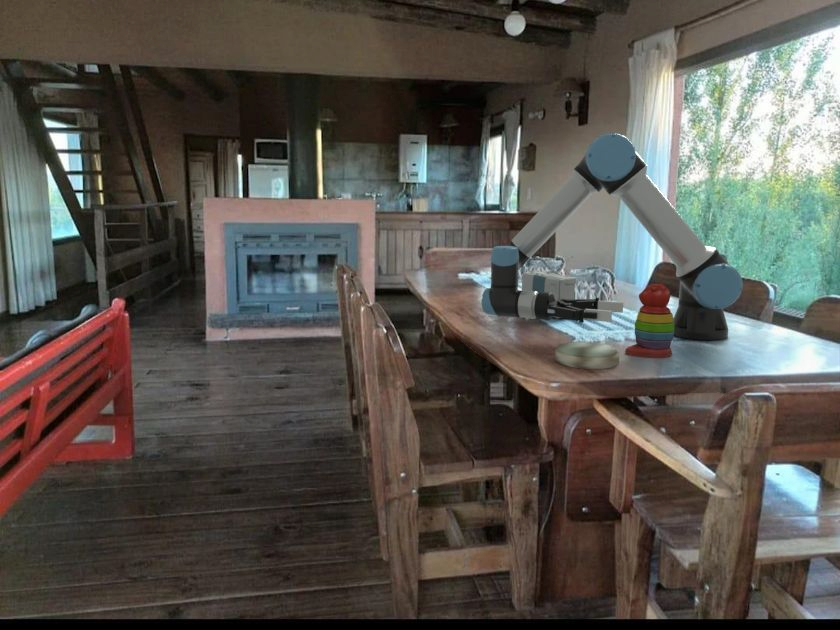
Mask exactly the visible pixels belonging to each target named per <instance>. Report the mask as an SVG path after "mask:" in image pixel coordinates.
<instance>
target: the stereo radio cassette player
mask: <svg viewBox="0 0 840 630" xmlns="http://www.w3.org/2000/svg"><path fill="white" fill-rule="evenodd" d="M573 258H574V256H573V255H572V256H571V257H569V258H568V259H566V260H564V261H562V262H561V263H560V264H557V265H555V267H554V268H552V269H550V270H549V271H548V272H547V271H526V272H523V273H522V277H521V291H537V292H538V293H539V292H550V293H552V294H553V295H554V299H555V301H558V300H560V299H575V292H576V290H575V288H576V286H575V285H576V284H577V283H578V279H577V278H576V277H575V276H574V277H572V276H568V275H564V274H563V275H562V274H558V273H557V274H556V273H552V272H553V271H554V270H556V269H557V268H559V267H560V266H562V265H563V264H565V263H566V262H568V261H570V260H571V259H573ZM552 318H554V319H556V320H559V319H561V318H560V317H555V316H553V317H552Z"/></svg>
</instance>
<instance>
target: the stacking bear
mask: <svg viewBox="0 0 840 630" xmlns="http://www.w3.org/2000/svg"><path fill="white" fill-rule="evenodd" d="M638 299H639V301H640V303H641V304H642V306H641V307H640V308H639V310H638V314H637V316H636V319H635V323H634V336H635V344H632V345H629V346H627V347H626V348H625V350H624V353H625V354H627V355H630V356H634V357H642V358H653V359H663V358H669V357H671V356H672V355H673V350H672V348H671V345H672V341H673V339H674V336H675V335H674V322H673V318H674V315H673V313H672V312H671V308H669V307H667V306H668V304H669V302H670V299H671V292H670V290H669V288H668V287H667V286H666V285H665V284H664V283H662V282H660V283H652V284H649V285H646V287H645V288H644V289H643V290H642V291H641V292H640V293H639V294H638Z"/></svg>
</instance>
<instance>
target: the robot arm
mask: <svg viewBox="0 0 840 630" xmlns="http://www.w3.org/2000/svg"><path fill="white" fill-rule="evenodd" d="M647 170H648V164H647V163H646V162H645V161H644V159H643V158H642V157H641V156H640V155H639V153H638V152H637V151H636V148H635V146H634V144H633V142H632V141H631V140H630V139H629V138H628V137H627V136H625V135H623V134H620V133H617V132H616V133H615V132H609V133H604V134H602V135H599V136H598V137H596V138H594V140H593V141H592V142H591V143H590V145H589V146H588V148H587V150H586V153H585V154H584V156H583V157H582V159H581V160H580V161H579V162H578V163H577V165H576V166H575V167H574V168H573V169H572V175H571V176H570V177H569V179H568V180H567V181H566V182H565V183H564V184H563V185H562V186H561V187H560V188H559V189H558V190H557V191H556V193H554V195H553V196H552V197H550V198H549V200H548V201H547V202H546V203H545V204H544V205H543V206H542V207H541V208H540V209H539V211H538V212H537V213H536V214H535V215H534V216H533V217H532V218H531V219H530V220H529V221H528V222H527V223H526V224H525V226H523V227H522V229H521V230H520V231H519V232H518V233H517V234H516V235H515V236H514V237H513V238H512V239H511V240H510V241H509V242H508V243H507V244H506V245H496V246H493V247H492V248H491V256H490V287H489V288H486V289H484V290H483V293H482V294H481V295H482V297H481V304H480V305H481V308H482V311H483V312H484V313H485V314H486V315H491V316H497V317H506V318H507V317H508V318H509V317H510V318H520V319H522V318H525V321H529V319H532V320H533V319H534V320H535V319H537V320H541V321H550V320H552V319H553V318H554V317H553V316H555V317H560V318H559V319H565V320H571V321H575V322H579V323H580V324H581V323H584V320H585V321H595V322H605V323H606V322H607V323H612V318H613V317H612V316H613V315H612V314H613V313H620V314H622V313H623V312H624V302H623V301H612V300H611V301H610V300H609V301H607V300H600V297H595V298H574V299H560V300H558V301H555V299H554V295H553V294H552V293H550V292H539V293H538V292H537V291H522V290H519V270H520V269H521V268H523V266H524V265H525V264H526V263H527V262H528V261H529V260H530V259H531V257H532V256H534V254H536V252H537V251H539V249H540V248H541V247H542V246H543V245H544V244H545V243H546V242H547V241H548V240H549V239H550V238H551V237H552V236H553V235H554V234H555V233H557V231H558V230H559V229H560V228H561V226H563V224H565V223H566V221H568V220H569V219H570V218H571V217H572V216H573V214H574V213H575V212H576V211H577V210H578V209H579V208H580V207H581V206H582V205H583V204H584V203H585V202H586V201H587V200H588V199H589V198H590V197H591V196H592V195H593V194H599V193H600V191H602V190H603V189H604V190H605V191H606V192H607V194H608V195H609V196H611V197H612V196H614V197H618V198H619V199H620V200H621V201H622V202H623V204H624V206H626V208H628V210H629V211H630V212H631V213H632V215H634V217H635V218H636V219H637V221H638V222H639V223H640V224H641V226H642V227H643V228H644V229H645V231H646V232H647V233H648V234H649V236H651V238H652V239H653V240H654V242H656V244H657V245H658V246H659V247H660V248H661V250H662V251H663V252H664V254H666V256H667V257H668V258H669V259H670V261H671V262H672V263H673V264H674V265H675V268H676V271H675V276H676V277H677V279H678V280H679V290H678V291H679V294H678V304H677V305H678V306H677V309H676V311H675V313H674V315H673V322H674V336H675V337H678V338H683V339H688V340H698V341H699V340H700V341H718V340H724V339H728V336H729V326H728V323H727V320H726V319H727V318H726V316H725V311H724V309H725V308H728V307H729V306H731V305H733V304H734V303H735V302H736V301H737V300H738V299H740V296H741V294H742V292H743V288H744V282H743V278H742V275H741V274H740V272H739V271H738V270H737V269H736V268H735V267H733V266H732V265H730V264H729V262H728V256H727V255H726V254H725V253H720V252H719V250H718V249H717V248H716V247H715V246H714V247H713V246H708V245H705V243H704V242H703V241H702V240H701V239H700V238H699V236H698V235H697V234H696V233H695V231H694V229H692V228H691V226H690V225H689V224H688V223H687V222H686V221H685V219H684V218H683V217H682V215H681V214H680V213H679V212H678V211H677V210H676V208H675V207H674V206H673V205H672V204H671V202H670V201H669V200H668V199H667V197H666V196H665V195H664V194H663V193H662V191H661V190H660V189H659V187H657V185H656V184H655V183H654V182H653V181H652V179H651V178H650V177H649V176H648V175H647Z"/></svg>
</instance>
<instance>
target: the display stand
mask: <svg viewBox="0 0 840 630" xmlns="http://www.w3.org/2000/svg"><path fill="white" fill-rule="evenodd" d="M554 350H555V354H554V359H555V362H556V363H558V364H560V365H561V366H562V365H563V366H565V367H570V368H576V369H583V370H603V369H611V368H615V367H617V366H618V365H619V364H620V351H619V349H618V348H616V347H614V346H612V345H609V344H605V343H600V342H591V341H574V342H573V341H570V342H564V343H560V344H559V345H558V346H556V347H555V348H554Z"/></svg>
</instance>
